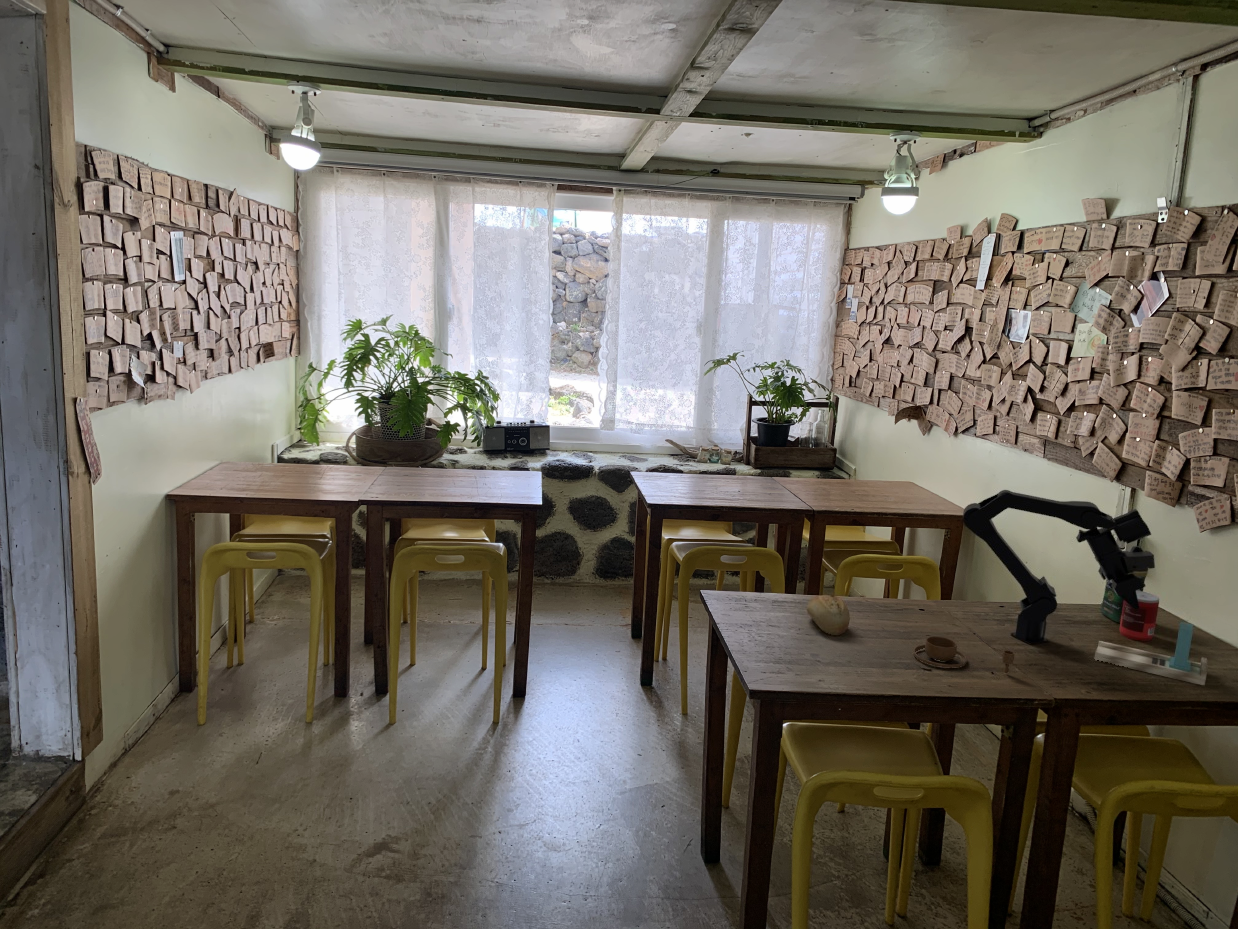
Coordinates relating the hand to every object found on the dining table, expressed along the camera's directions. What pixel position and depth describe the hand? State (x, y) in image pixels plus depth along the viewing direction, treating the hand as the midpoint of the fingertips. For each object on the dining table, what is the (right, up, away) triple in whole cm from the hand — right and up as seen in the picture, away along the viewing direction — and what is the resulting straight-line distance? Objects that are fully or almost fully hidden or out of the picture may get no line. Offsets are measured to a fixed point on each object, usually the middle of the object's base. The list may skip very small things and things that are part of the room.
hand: (1137, 608), depth 205 cm
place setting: (-47, -13, -8) cm, 49 cm away
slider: (+5, -12, -7) cm, 15 cm away
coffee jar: (+12, -8, +28) cm, 31 cm away
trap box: (0, -13, -4) cm, 13 cm away
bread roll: (-72, -7, +13) cm, 73 cm away
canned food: (+9, -10, +16) cm, 21 cm away
